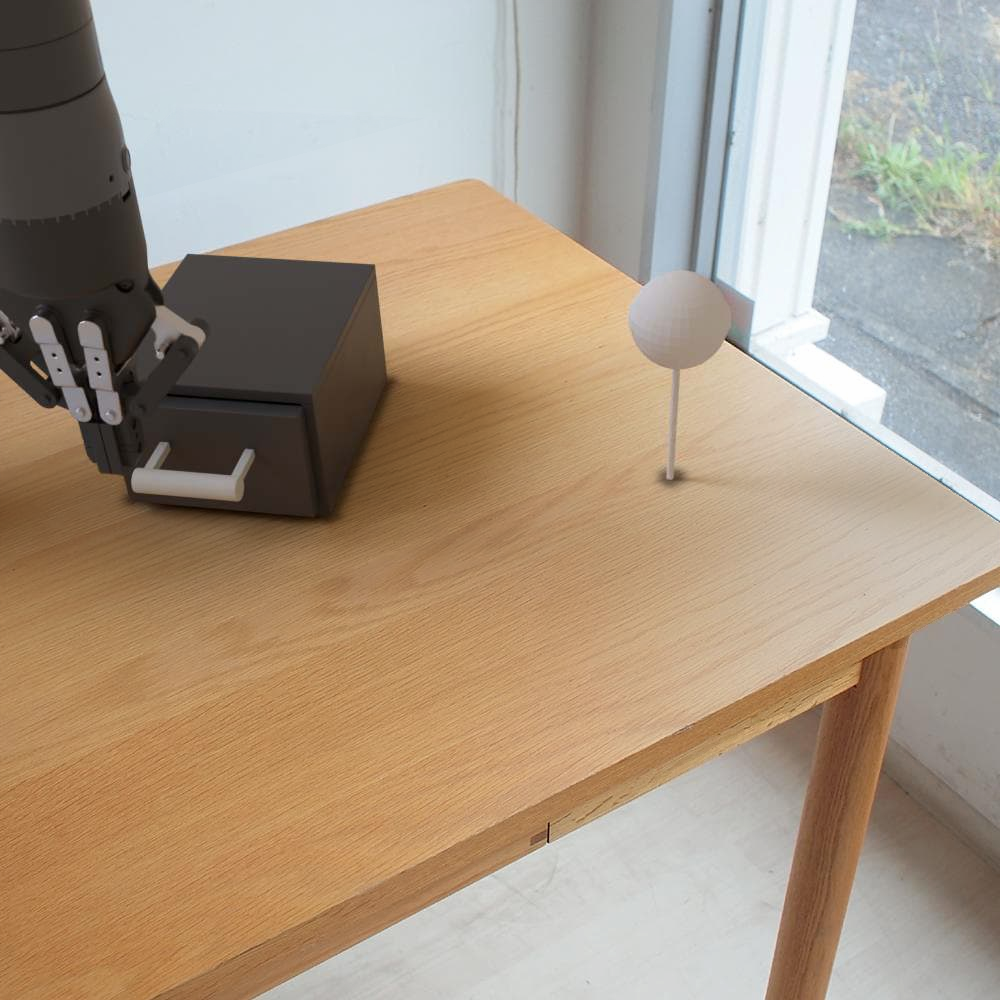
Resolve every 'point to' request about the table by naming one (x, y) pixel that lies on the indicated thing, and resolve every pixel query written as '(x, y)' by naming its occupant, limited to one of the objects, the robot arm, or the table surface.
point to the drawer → (226, 457)
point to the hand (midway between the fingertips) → (121, 465)
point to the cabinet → (285, 346)
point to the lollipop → (679, 329)
